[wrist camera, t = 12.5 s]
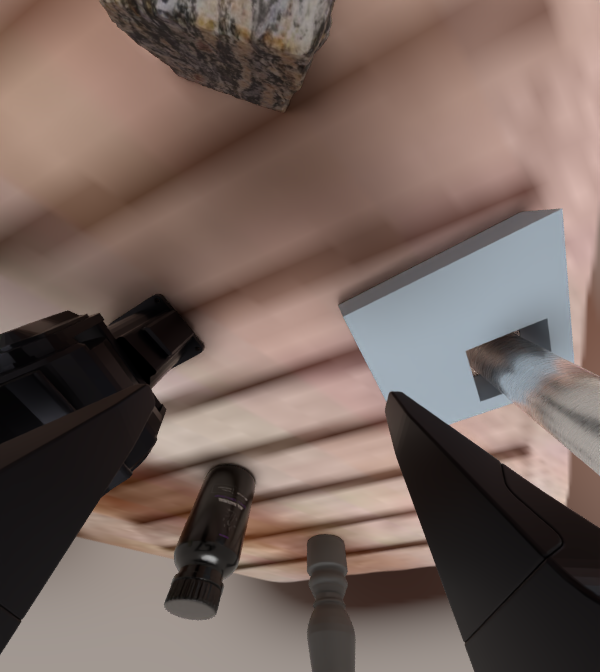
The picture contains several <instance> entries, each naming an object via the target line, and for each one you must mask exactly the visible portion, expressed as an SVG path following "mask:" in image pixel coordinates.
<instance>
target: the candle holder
mask: <svg viewBox="0 0 600 672" xmlns="http://www.w3.org/2000/svg"><path fill="white" fill-rule="evenodd" d="M307 572H308V574H309V576H311V577H310V580H309V587H310V589H311V590H312V593H313V595H314V597H315V602H314V605H313V607H314V611H313V613H312V615H311V618H310V621H309V624H308V631H307V637H308V638H307V639H308V645H309V652H310V660H311V667H312V672H355V632H354V628H353V625H352V622H351V620H350V618H349V616H348V614H347V612H346V611H345V604H344V602H343V597H344V594H345V591H346V588H347V585H348V584H347V581H346V578H345V576H346V574H347V572H348V570H347V562H346V553H345V545H344V542H343V540H342V539H340V538H339V537H337V536H334V535H326V534H324V535H317V536H314V537H312V538H311V539H309V540H308V543H307Z"/></svg>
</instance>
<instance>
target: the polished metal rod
mask: <svg viewBox="0 0 600 672" xmlns="http://www.w3.org/2000/svg"><path fill="white" fill-rule="evenodd" d="M466 355H467V358H468V361H469V365H470V367H471V368H473V369H474V370H475V371H476V372H477V373H479V374H480V375H481V376H482V377H483V378H485V379H486V380H487V381H488V382H489V383H490V384H492V385H493V386H494V387H495V388H496V389H498V390H499V391H500V392H501V393H502V394H503V395H505V396H506V397H507V398H508V399H509V400H511V401H512V402H513V403H514V404H515V405H517V406H518V407H519V408H520V409H521V410H522V411H524V412H525V413H526V414H527V415H528V416H530V417H531V418H532V419H533V420H534V421H536V422H537V423H538V424H539V425H540V426H541V427H543V428H544V429H545V430H546V431H547V432H549V433H550V434H551V435H552V436H553V437H554V438H556V439H557V440H558V441H559V442H560V443H562V444H563V445H564V446H565V447H566V448H568V449H569V450H570V451H571V452H572V453H574V454H575V455H576V456H577V457H578V458H579V459H581V460H582V461H583V462H584V463H585V464H587V465H588V466H589V467H590V468H591V469H593V470H594V471H595V472H596V473H597V474H598V475H600V377H599V376H597V375H595V374H594V373H592V372H590V371H588V370H586V369H584V368H582V367H580V366H578V365H576V364H574V363H572V362H570V361H568V360H566V359H564V358H562V357H560V356H558V355H556V354H554V353H552V352H550V351H548V350H546V349H544V348H542V347H540V346H538V345H536V344H534V343H532V342H530V341H528V340H526V339H524V338H522V337H520V336H518V335H516V334H514V333H512V332H511V333H509V334H506V335H504V336H501V337H499V338H496V339H494V340H492V341H489V342H487V343H484V344H482V345H479V346H477V347H474V348H472V349H469V350H467V351H466Z"/></svg>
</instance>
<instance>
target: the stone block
mask: <svg viewBox="0 0 600 672" xmlns="http://www.w3.org/2000/svg"><path fill="white" fill-rule="evenodd" d="M99 1H100V3H101V4H102V6H103V7H104V8H105V10H106V11H107V13H108V15H109V17H110V18H111V20H112V21H113V22H114V23H116V24H117V27H119V28H120V29H121V30H122V31H125V32H126V33H127V35H128V36H129V37H131V38H132V39H133V40H134V41H135V42H136V43H137V44H138V45H140V46H142V47H143V48H145V49H146V50H147V51H149V52H150V53H151V54H153V55H154V56H155V57H157V58H159V59H160V60H161V61H162V62H164V63H165V64H167V65H169V66H170V67H171V69H172V70H173V71H174V72H175V73H176V74H177V75H178V76H180V77H183V78H186V79H188V80H190V81H194V82H198V83H200V84H201V85H203V86H207V87H208V88H212V89H214V90H217V91H220V92H223V93H226V94H227V93H229V94H231V95H233V96H234V97H236V98H239V99H243V100H246V101H249V102H251V103H254V104H258V105H259V106H263V107H267V108H270V109H273V110H275V111H280V112H282V113H284V112H285V110H286V108H287V107H288V106H289V102H290V99H291V98H292V96H293V94H294V93H295V92H296V91H297V90H299V89H300V88H301V87H302V84H303V81H304V78H305V75H306V73H307V70H308V69H309V67H310V65H311V62H312V59H313V56H314V54H315V53H316V52H317V51H318V50H319V49H320V48H321V46H322V45H323V44H324V42H325V41H326V40H327V38H328V36H329V32H330V27H331V24H332V20H331V12H332V9H333V5H334V2H335V0H99Z"/></svg>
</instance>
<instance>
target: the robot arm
mask: <svg viewBox="0 0 600 672" xmlns="http://www.w3.org/2000/svg"><path fill="white" fill-rule="evenodd" d="M157 298H158V299H159V300H160V302H158V301H157ZM103 321H104V319H103V317H102V316H101V314H100V313H97V314H94V315H91V316H88V314H85V315H77V314H75V313H73V312H71V311H65V312H62V313H59V314H56V315H53V316H50V317H47V318H44V319H41V320H38V321H35V322H32V323H29V324H27V325H24V326H21V327H18V328H16V329H13V330H10V331H8V332H5V333H2V334H0V654H1V653H2V651H3V649H4V648H5V646H6V645H7V643H8V642H9V640H10V639H11V637H12V635H13V634H14V632H15V631H16V629H17V628H18V626H19V625H20V623H21V619H23V618H24V616H25V615H26V613H27V612H28V610H29V609H30V607H31V606H32V604H33V602H34V601H35V599H36V598H37V596H38V595H39V593H40V592H41V590H42V589H43V587H44V585H45V584H46V582H47V581H48V579H49V578H50V576H51V575H52V573H53V571H54V570H55V568H56V567H57V565H58V564H59V562H60V560H61V559H62V557H63V556H64V554H65V553H66V551H67V550H68V548H69V547H70V545H71V543H72V542H73V540H74V539H75V537H76V536H77V534H78V533H79V531H80V529H81V528H82V526H83V525H84V523H85V522H86V520H87V519H88V517H89V515H90V514H91V512H92V511H93V509H94V508H95V506H96V505H97V503H98V501H99V500H100V498H101V497H102V496H104V495H105V494H106V493H107V492H109V491H110V490H111V489H113V488H114V487H116V486H117V485H119V484H120V483H122V482H123V481H125V480H127V479H128V478H129V477H130V476H131V475H132V473H133V472H132V471H133V470H134V469H136V468H137V467H138V466H139V465H140V464H141V463H142V462H143V461H144V460H145V458H146V457H147V456H148V454H149V453H150V452H151V449H152V447H153V446H154V445H155V443H156V441H157V434H158V431H159V429H160V426H161V423H162V420H163V418H164V415H165V412H166V408H165V407H164V405H163V404H161V403H160V402H159V401H158V399H157V398H156V396H155V395H154V393H153V392H152V390H151V389H152V388H153V387H154V386H155V384H156V383H157V382H158V381H159V380H160V379H161V378H162V377H163V376H164V375H165V374H166V373H167V372H168V371H169V370H170V369H172V368H174V367H176V366H177V365H179V364H181V363H183V362H185V361H187V360H189V359H190V358H192V357H194V356H196V355H198V354H200V353H201V352H202V351H203V350H204V346H203V344H202V343H201V342H200V340H199V339H198V338H197V337H196V336H195V334H194V333H193V331H192V330H191V329H190V327H189V326H188V325H187V324H186V323H185V321H184V320H183V319H182V318H181V317H180V315H179V314H178V313H177V312H176V311H175V310H174V309H173V308H172V306H171V305H170V304H169V303H168V301H167V300H166V299H165V298H164V297H163V296H162V295H161V294H156V295H153V296H152V297H150V298H149V299H147V300H145V301H144V302H142V303H141V304H139V305H138V306H136V307H135V308H133V309H132V310H130V311H129V312H127V313H126V314H124V315H122V316H121V317H119V318H118V319H116V320H115V321H113V322H112V323H110V324H109V326H108V327H107V326H106V325H105V323H104V322H103ZM197 347H199V348H200V349H198V348H197ZM385 414H386V418H387V422H388V426H389V431H390V435H391V439H392V443H393V447H394V451H395V454H396V457H397V460H398V463H399V466H400V469H401V471H402V474H403V477H404V479H405V482H406V485H407V488H408V490H409V493H410V496H411V499H412V501H413V504H414V507H415V510H416V512H417V515H418V518H419V521H420V523H421V526H422V529H423V532H424V534H425V537H426V540H427V543H428V545H429V548H430V551H431V553H432V556H433V559H434V562H435V564H436V567H437V570H438V573H439V575H440V578H441V581H442V584H443V586H444V589H445V592H446V595H447V597H448V600H449V603H450V606H451V608H452V611H453V614H454V616H455V619H456V622H457V625H458V627H459V630H460V633H461V635H462V638H463V641H464V642H465V647H466V650H467V653H468V656H469V658H470V661H471V664H472V666H473V669H474V672H600V528H599V527H597V526H595V525H594V524H592V523H591V522H589V521H588V520H586V519H585V518H583V517H582V516H580V515H579V514H577V513H575V512H574V511H572V510H571V509H569V508H568V507H566V506H565V505H563V504H562V503H560V502H559V501H557V500H555V499H554V498H552V497H551V496H549V495H548V494H546V493H545V492H543V491H542V490H540V489H539V488H537V487H536V486H534V485H533V484H532V483H530V482H529V481H527V480H526V479H524V478H523V477H521V476H520V475H519V474H517V473H516V472H514V471H513V470H511V469H510V468H509V467H507V466H506V465H504V464H501V463H500V461H499V460H497V459H496V458H494V457H493V456H492V455H490V454H489V453H487V452H486V451H485V450H483V449H482V448H480V447H479V446H478V445H476V444H475V443H473V442H472V441H471V440H469V439H468V438H466V437H465V436H463V435H462V434H461V433H459V432H458V431H456V430H455V429H454V428H452V427H451V426H449V425H448V424H447V423H445V422H444V421H442V420H441V419H440V418H438V417H437V416H435V415H434V414H432V413H431V412H430V411H428V410H427V409H425V408H424V407H423V406H421V405H420V404H418V403H417V402H416V401H414V400H413V399H411V398H410V397H409V396H407V395H406V394H404V393H403V392H400V391H391V392H389V394H388V399H387V403H386V408H385Z"/></svg>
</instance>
